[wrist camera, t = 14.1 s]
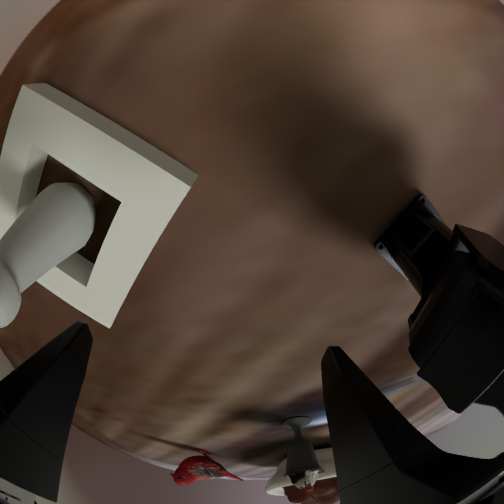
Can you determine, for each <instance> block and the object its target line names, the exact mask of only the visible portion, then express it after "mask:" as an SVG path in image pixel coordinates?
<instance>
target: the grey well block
mask: <svg viewBox="0 0 504 504" xmlns="http://www.w3.org/2000/svg"><path fill="white" fill-rule="evenodd" d="M48 154H49V155H50V156H52V157H53V158H55V159H56V160H58V161H59V162H61V163H62V164H64V165H65V166H67V167H68V168H70V169H71V170H73V171H74V172H76V173H77V174H79V175H80V176H82V177H83V178H85V179H86V180H88V181H89V182H91V183H93V184H94V185H96V186H97V187H99V188H100V189H102V190H103V191H105V192H106V193H108V194H110V195H111V196H113V197H114V198H116V199H117V200H119V201H120V202H121V204H120V206H119V209H118V211H117V213H116V215H115V217H114V219H113V221H112V224H111V226H110V228H109V230H108V233H107V235H106V237H105V240H104V242H103V245H102V247H101V249H100V252H99V254H98V257H97V259H96V262H95V264H93V263H92V262H90V261H89V260H87V259H86V258H84V257H83V256H81V255H80V254H78V253H77V252H75V253H73V254H72V255H70V256H69V257H67V258H66V259H65V260H63V261H62V262H60V263H59V264H57V265H56V266H55V267H53V268H52V269H50V270H49V271H48V272H46V273H45V274H44V275H42V276H41V277H40V278H39V279H37V280H36V281H37V282H38V283H40V284H41V285H43V286H44V287H45V288H47V289H48V290H50V291H51V292H52V293H54V294H55V295H57V296H58V297H60V298H61V299H63V300H64V301H66V302H67V303H69V304H70V305H72V306H73V307H75V308H76V309H78V310H80V311H81V312H83V313H84V314H86V315H88V316H89V317H91V318H93V319H94V320H96V321H98V322H99V323H101V324H103V325H104V326H106V327H108V328H110V327H111V325H112V323H113V321H114V319H115V317H116V315H117V313H118V311H119V309H120V307H121V305H122V303H123V301H124V299H125V298H126V296H127V294H128V292H129V290H130V288H131V286H132V284H133V283H134V281H135V279H136V277H137V275H138V273H139V272H140V270H141V268H142V266H143V264H144V263H145V261H146V259H147V257H148V256H149V254H150V252H151V251H152V249H153V247H154V245H155V244H156V242H157V240H158V239H159V237H160V235H161V234H162V232H163V230H164V229H165V227H166V226H167V224H168V222H169V221H170V219H171V218H172V216H173V214H174V213H175V211H176V210H177V208H178V207H179V205H180V203H181V202H182V200H183V199H184V197H185V196H186V194H187V193H188V191H189V190H190V188H191V187H192V185H193V183H194V182H195V180H196V178H197V177H198V174H196V173H195V172H193V171H192V170H190V169H189V168H187V167H186V166H184V165H182V164H181V163H179V162H178V161H176V160H175V159H173V158H172V157H170V156H168V155H167V154H165V153H164V152H162V151H160V150H159V149H157V148H156V147H154V146H152V145H151V144H149V143H148V142H146V141H144V140H143V139H141V138H139V137H138V136H136V135H135V134H133V133H131V132H130V131H128V130H126V129H125V128H123V127H121V126H120V125H118V124H116V123H115V122H113V121H111V120H110V119H108V118H106V117H105V116H103V115H101V114H99V113H98V112H96V111H94V110H93V109H91V108H89V107H87V106H86V105H84V104H82V103H80V102H79V101H77V100H75V99H73V98H72V97H70V96H68V95H66V94H65V93H63V92H61V91H59V90H57V89H56V88H54V87H52V86H50V85H48V84H46V83H36V84H24V85H22V87H21V90H20V93H19V95H18V98H17V101H16V103H15V106H14V109H13V112H12V115H11V118H10V122H9V125H8V128H7V132H6V136H5V139H4V143H3V147H2V152H1V156H0V240H1V238H2V237H3V236H4V234H5V233H6V232H7V230H8V229H9V228H10V227H11V225H12V224H13V223H14V222H15V221H16V219H17V218H18V217H19V216H20V215H21V213H22V212H23V211H24V210H25V209H26V208H27V207H28V205H29V204H30V203H31V202H32V201H33V200H34V199H35V198H36V194H37V190H38V186H39V182H40V179H41V175H42V172H43V169H44V165H45V162H46V159H47V156H48Z"/></svg>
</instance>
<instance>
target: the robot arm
mask: <svg viewBox="0 0 504 504" xmlns="http://www.w3.org/2000/svg"><path fill="white" fill-rule="evenodd" d="M422 198H423V199H422ZM421 199H422V201H421V202H420V200H421ZM381 244H382V245H381ZM379 245H381V246H380V247H379ZM374 247H375V249H376V250H377V251H378V252H379V253H380V254H381V255H382V256H383V257H384V258H385V259H386V260H387V261H388V262H389V263H390V264H391V265H392V266H393V267H395V268H396V269H397V270H398V271H399V272H400V273H401V274H402V275H403V276H404V277H405V278H406V279H407V280H409V281H410V282H411V284H412V285H413V287H414V288H415V289H416V291H417V292H418V294H419V295H420V296H421V300H420V302H419V304H418V305H417V307H416V309H415V310H414V312H413V314H411V315H410V317H409V318H408V324H409V330H410V332H409V341H410V346H409V347H408V350H409V352H410V354H411V356H412V359H413V360H414V362H415V363H416V364H417V366H418V367H419V368H420V370H419V371H418V372H417V375H418V376H419V377H421V378H422V379H424V380H425V381H427V382H428V383H429V384H430V385H431V386H433V387H434V388H435V389H436V391H437V392H438V393H439V395H440V396H441V398H442V399H443V401H444V402H445V404H446V405H447V407H448V408H449V409H451V410H453V411H455V412H456V413H462V412H463V411H465V410H466V409H467V408H468V407H469V406H470V405H471V404H472V403H476V404H481V405H486V406H491V407H495V408H496V409H497V410H498V411H499V412H500V413H501V414H502V415H503V416H504V245H502V244H501V243H500V242H498V241H497V240H496V239H494V238H493V237H491V236H490V235H488V234H486V233H483V232H480V231H477V230H474V229H471V228H468V227H465V226H462V225H458V224H455V226H454V229H453V231H452V230H451V229H450V228H449V227H447V226H446V224H445V223H444V221H443V220H442V218H441V217H440V215H439V214H438V213H437V211H436V210H435V208H434V207H433V205H432V204H431V203H430V201H429V200H428V199H427V197H426V196H425V195H423V194H419V195H418V196H417V197H416V198H415V199H414V200H413V201H412V202H411V204H410V205H409V206H408V207H407V208H406V209H405V210H404V212H403V213H402V214H401V215H400V216H399V217H398V218H397V219H396V220H395V222H394V223H393V224H392V225H391V226H390V227H389V228H388V229H387V230H386V231H385V232H384V234H383V235H382V236H381V237H380V238H379V239H378V240H377V241H376V242H375V244H374ZM92 343H93V338H92V335H91V332H90V330H89V327H88V324H87V323H85V322H81V321H77V322H75V323H74V324H72V325H71V326H70V327H68V328H67V329H66V330H64V331H63V332H62V333H60V334H59V335H58V336H57V337H55V338H54V339H53V340H51V341H50V342H49V343H47V344H46V345H45V346H44V347H42V348H41V349H40V350H38V351H37V352H36V353H35V354H33V355H32V356H31V357H30V358H28V359H27V360H26V361H25V362H23V363H22V364H21V365H20V366H18V367H17V368H16V369H15V370H13V371H12V372H11V373H10V374H9V375H7V376H6V377H5V378H4V379H2V380H1V381H0V504H37V503H36V501H35V495H38V496H41V497H43V498H45V499H48V500H51V501H54V502H57V497H58V489H59V482H60V476H61V470H62V464H63V462H62V461H63V458H64V453H65V449H66V444H67V439H68V435H69V430H70V427H71V423H72V419H73V415H74V411H75V408H76V404H77V401H78V397H79V394H80V391H81V387H82V384H83V381H84V377H85V374H86V369H87V365H88V360H89V356H90V351H91V347H92ZM321 371H322V384H323V398H324V405H325V411H326V416H327V421H328V427H329V433H330V439H331V445H332V451H333V457H334V463H335V470H336V476H337V483H338V490H339V498H340V504H504V474H502V475H500V476H499V477H498V475H499V474H500V473H501V472H502V471H504V452H502V453H500V454H499V455H497V456H496V457H495V458H492V459H480V458H473V457H467V456H462V455H456V454H451V453H447V452H445V451H443V450H441V449H439V448H438V447H437V446H435V445H434V444H433V443H432V442H431V441H430V440H428V439H427V438H426V437H425V436H424V435H423V434H421V433H420V432H419V431H418V430H417V429H416V428H415V427H414V426H413V425H412V424H410V423H409V422H408V421H407V419H406V418H405V417H404V416H403V415H402V414H401V413H400V412H399V411H398V410H397V409H395V407H394V406H393V405H392V403H391V402H390V401H389V400H388V399H387V398H386V397H385V396H384V395H383V394H382V392H381V391H380V390H379V389H378V388H377V387H376V386H375V385H374V384H373V383H372V382H371V380H370V379H369V378H368V377H367V376H366V375H365V374H364V373H363V372H362V371H361V369H360V368H359V367H358V366H357V365H356V364H355V363H354V362H353V361H352V360H351V359H350V357H349V356H348V355H347V354H346V353H345V352H344V351H343V350H342V349H341V348H340V347H339V346H329V347H328V348H327V350H326V352H325V354H324V356H323V358H322V361H321Z"/></svg>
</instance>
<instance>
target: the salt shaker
mask: <svg viewBox="0 0 504 504" xmlns="http://www.w3.org/2000/svg"><path fill="white" fill-rule="evenodd" d="M95 220H96V212H95V204H94V197H93V196H92V195H91V194H90V193H89V192H87V191H86V190H85V189H84V188H83V187H82V186H80V185H79V184H75V183H68V182H65V183H54V184H51V185H49V186H48V187H47V188H45V189H44V190H43V191H41V192H40V193H39V195H38V196H37V197H36V198H35V199H34V200H33V201H32V202H31V203H30V204H29V205H28V207H27V208H26V209H25V210H24V211H23V212H22V213H21V215H20V216H19V217H18V218H17V219H16V221H15V222H14V223H13V224H12V225H11V227H10V228H9V229H8V230H7V232H6V233H5V234H4V236H3V237H2V238H1V240H0V328H2V327H5V326H7V325H8V324H9V323H10V322H11V321H12V320H14V318H15V316H16V315H17V313H18V311H19V308H20V304H21V300H22V298H21V295H20V293H22V292H23V291H24V290H25V289H26V288H28V287H29V286H30V285H31V284H32V283H34V282H35V281H36V280H37V279H39V278H40V277H41V276H42V275H44V274H45V273H46V272H48V271H49V270H50V269H52V268H53V267H55V266H56V265H57V264H59V263H60V262H62V261H63V260H65V259H66V258H67V257H69V256H70V255H72V254H73V253H75V252H76V251H78V250H79V249H81V248H82V247H84V246H85V245H86V243H87V241H88V240H89V238H90V236H91V234H92V233H93V230H94V225H95Z"/></svg>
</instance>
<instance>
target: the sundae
mask: <svg viewBox="0 0 504 504" xmlns="http://www.w3.org/2000/svg"><path fill="white" fill-rule="evenodd" d="M310 422H311V419H310V418H309V417H303V416H301V417H293V418H290V419H287V420H285V421H284V422H283V423H282V425H283V426H284V427H286V428H292V429H293V430H294V433H295V440H294V441H293V442H292V443H291V444H290V445H289V447H288V451H287V462H286V473H285V474H284V475H283V476H282V477H287V478H288V479H289V480H291V483H292V484H293V485H294V484H295V486H296V487H298V488H299V489H304V490H306V491H307V492H309V494H310V496H311V497H312V498H313V499H314V500H316V499H317V498H315V497H314V496H312V495H311V493H310V491H312V490H313V487H314V486H313V485H314V483H315V481H316V480H317V478H318V474H320V473H323V472H325V469H324V468H323V467H320V466H319V463H318V461H317V458H316V454H315V451H314V448H313V446H312V444H311V443H310V442H309V441H307V440H305V439H303V438H302V427H303V426H306V425H308V424H309V423H310Z"/></svg>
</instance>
